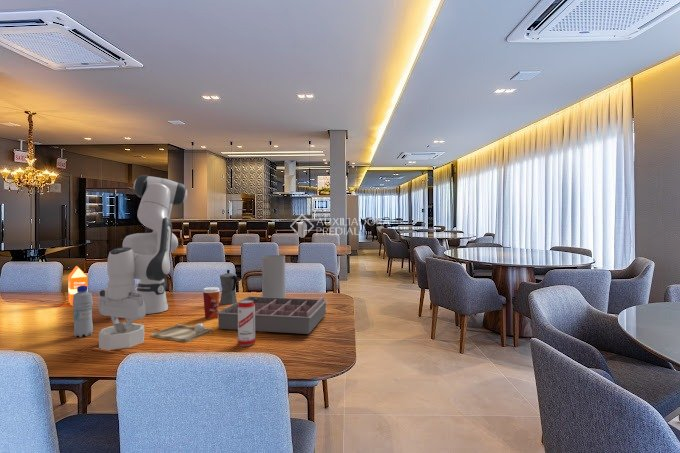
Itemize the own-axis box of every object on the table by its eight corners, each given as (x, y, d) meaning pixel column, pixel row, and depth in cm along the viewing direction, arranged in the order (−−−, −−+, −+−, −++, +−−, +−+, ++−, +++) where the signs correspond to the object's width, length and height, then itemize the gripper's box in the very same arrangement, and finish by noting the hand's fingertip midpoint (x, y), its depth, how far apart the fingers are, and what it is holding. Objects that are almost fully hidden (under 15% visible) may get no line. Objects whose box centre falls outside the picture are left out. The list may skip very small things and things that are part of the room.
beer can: (239, 341, 142) (239, 299, 142) (256, 340, 143) (256, 299, 142) (236, 347, 136) (236, 303, 136) (254, 346, 137) (253, 303, 136)
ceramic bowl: (91, 347, 136) (90, 332, 136) (126, 335, 149) (125, 322, 149) (118, 352, 131) (118, 337, 130) (152, 340, 144) (151, 325, 143)
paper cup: (214, 321, 170) (214, 290, 169) (199, 320, 171) (199, 289, 171) (223, 316, 177) (223, 286, 177) (208, 315, 179) (208, 286, 178)
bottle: (78, 339, 144) (76, 287, 144) (69, 336, 148) (68, 286, 147) (96, 334, 150) (95, 284, 150) (88, 331, 154) (87, 283, 153)
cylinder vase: (274, 304, 201) (274, 258, 200) (257, 301, 207) (257, 256, 207) (289, 300, 211) (289, 255, 210) (273, 297, 218) (273, 254, 217)
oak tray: (150, 337, 146) (150, 333, 146) (178, 327, 159) (178, 324, 159) (186, 343, 140) (186, 339, 140) (212, 332, 153) (212, 328, 153)
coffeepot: (214, 301, 207) (214, 269, 206) (230, 299, 213) (230, 267, 213) (228, 306, 196) (227, 272, 195) (244, 303, 202) (244, 270, 202)
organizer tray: (248, 312, 185) (248, 292, 185) (327, 316, 178) (327, 295, 178) (215, 332, 154) (215, 308, 153) (310, 338, 147) (310, 312, 146)
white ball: (191, 334, 149) (191, 324, 149) (199, 331, 153) (199, 321, 153) (199, 335, 148) (199, 325, 147) (207, 332, 151) (206, 322, 151)
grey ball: (113, 334, 138) (113, 323, 138) (123, 330, 142) (123, 320, 142) (121, 335, 137) (121, 324, 137) (131, 332, 141) (130, 321, 140)
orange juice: (85, 300, 210) (84, 265, 209) (88, 303, 203) (87, 266, 203) (68, 302, 205) (67, 266, 204) (70, 305, 198) (69, 268, 198)
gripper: (149, 292, 138) (150, 329, 139) (110, 288, 146) (111, 323, 146) (134, 295, 132) (135, 334, 133) (94, 291, 140) (95, 328, 140)
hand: (122, 328), depth 139 cm, fingers closed on grey ball, 4 cm apart
